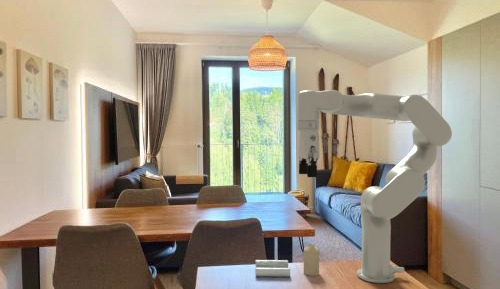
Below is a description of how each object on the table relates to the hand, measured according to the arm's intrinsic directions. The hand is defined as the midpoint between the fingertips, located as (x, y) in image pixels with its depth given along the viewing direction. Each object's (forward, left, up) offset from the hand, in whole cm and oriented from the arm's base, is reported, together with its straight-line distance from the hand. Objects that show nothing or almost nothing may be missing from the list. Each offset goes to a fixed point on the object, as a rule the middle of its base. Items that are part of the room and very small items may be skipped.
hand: (307, 175), depth 132 cm
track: (+12, -3, -35) cm, 37 cm away
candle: (-2, -3, -36) cm, 36 cm away
